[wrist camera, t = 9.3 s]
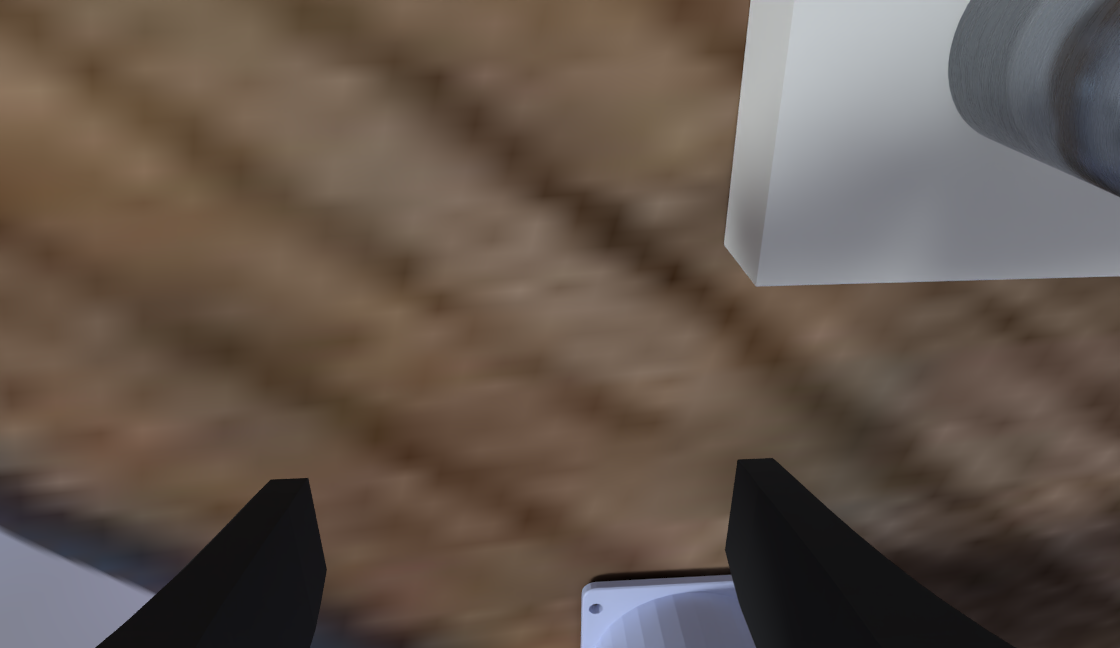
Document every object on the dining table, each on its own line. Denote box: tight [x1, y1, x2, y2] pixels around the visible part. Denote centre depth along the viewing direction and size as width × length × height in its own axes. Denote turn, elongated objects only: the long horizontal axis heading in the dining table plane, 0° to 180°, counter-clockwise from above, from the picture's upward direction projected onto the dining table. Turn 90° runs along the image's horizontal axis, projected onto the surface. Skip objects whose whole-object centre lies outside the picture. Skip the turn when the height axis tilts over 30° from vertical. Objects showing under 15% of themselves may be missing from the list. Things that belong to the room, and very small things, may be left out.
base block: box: [724, 0, 1120, 286], centre depth 17 cm, size 12×12×3 cm
